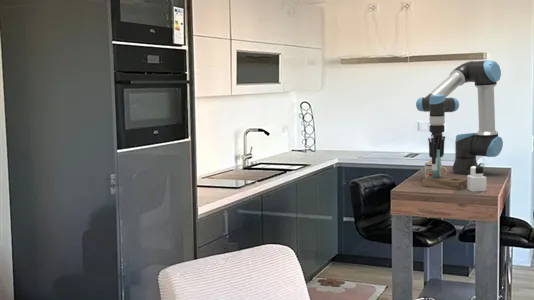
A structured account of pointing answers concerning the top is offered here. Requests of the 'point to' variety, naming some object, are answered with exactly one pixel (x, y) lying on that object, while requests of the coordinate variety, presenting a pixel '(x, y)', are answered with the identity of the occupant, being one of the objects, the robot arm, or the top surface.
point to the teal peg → (437, 172)
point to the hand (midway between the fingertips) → (436, 169)
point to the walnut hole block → (445, 183)
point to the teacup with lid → (429, 169)
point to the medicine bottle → (476, 179)
